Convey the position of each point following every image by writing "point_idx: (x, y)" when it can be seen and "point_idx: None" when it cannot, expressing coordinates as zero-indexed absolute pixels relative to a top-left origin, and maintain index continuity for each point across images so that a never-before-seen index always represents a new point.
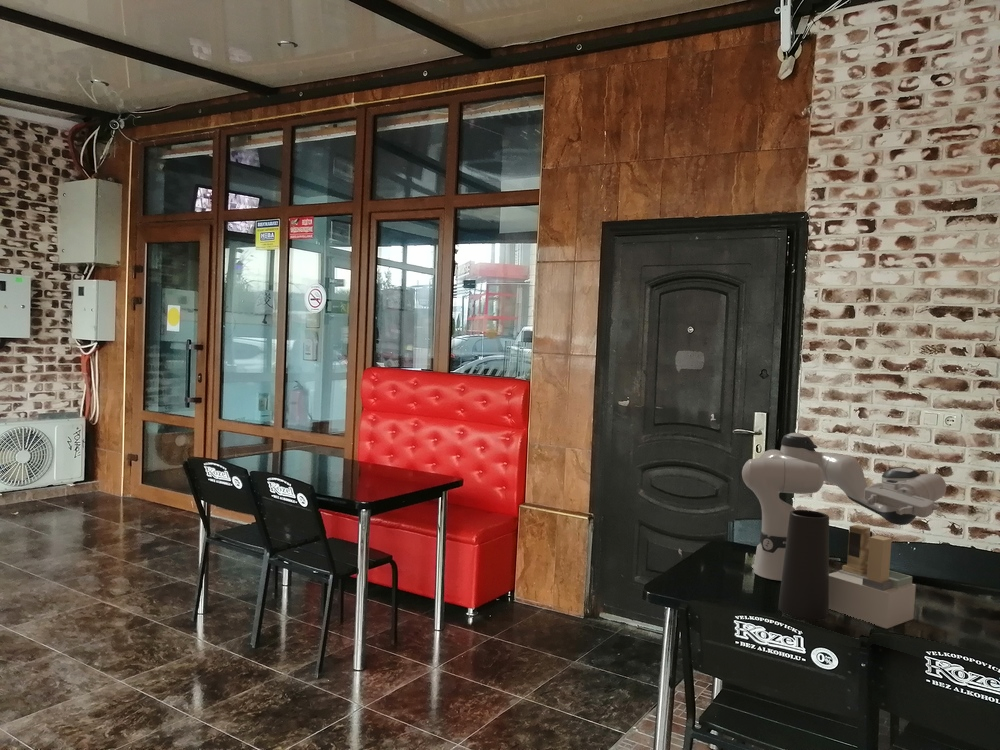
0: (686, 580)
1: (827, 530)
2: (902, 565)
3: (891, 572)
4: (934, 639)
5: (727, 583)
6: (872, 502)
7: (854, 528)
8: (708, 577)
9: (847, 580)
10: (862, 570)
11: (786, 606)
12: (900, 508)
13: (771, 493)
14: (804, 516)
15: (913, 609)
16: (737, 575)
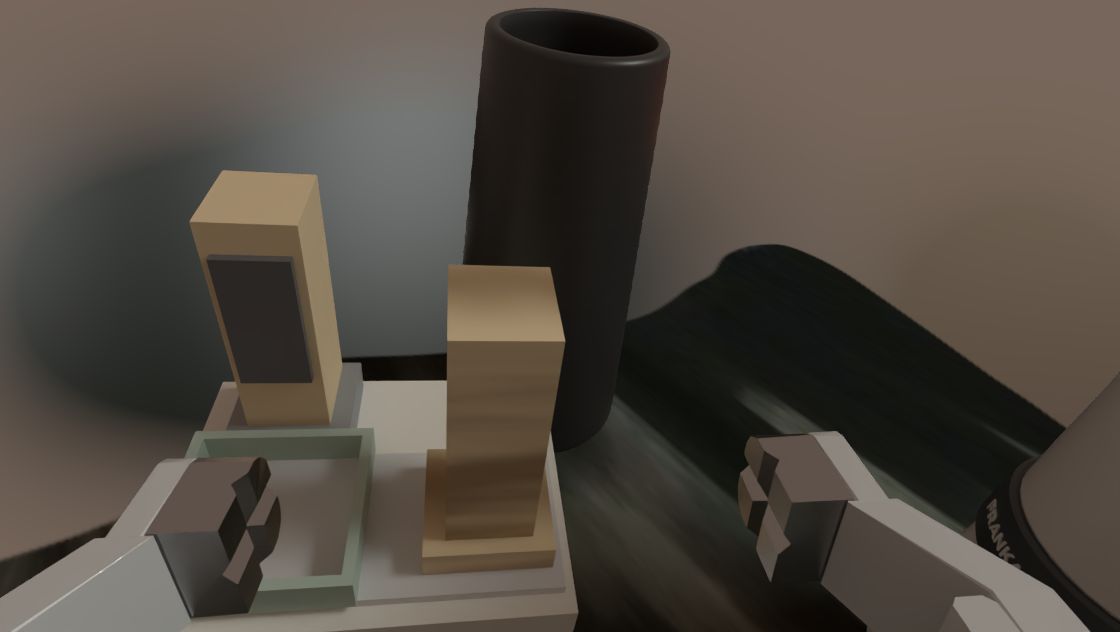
0: (878, 339)
1: (480, 94)
2: None
3: (288, 582)
4: (43, 547)
5: (846, 407)
6: (762, 492)
7: (511, 273)
8: (915, 402)
9: (439, 386)
10: (427, 459)
11: None
12: (186, 482)
13: None
14: (546, 8)
15: None
16: (952, 501)
